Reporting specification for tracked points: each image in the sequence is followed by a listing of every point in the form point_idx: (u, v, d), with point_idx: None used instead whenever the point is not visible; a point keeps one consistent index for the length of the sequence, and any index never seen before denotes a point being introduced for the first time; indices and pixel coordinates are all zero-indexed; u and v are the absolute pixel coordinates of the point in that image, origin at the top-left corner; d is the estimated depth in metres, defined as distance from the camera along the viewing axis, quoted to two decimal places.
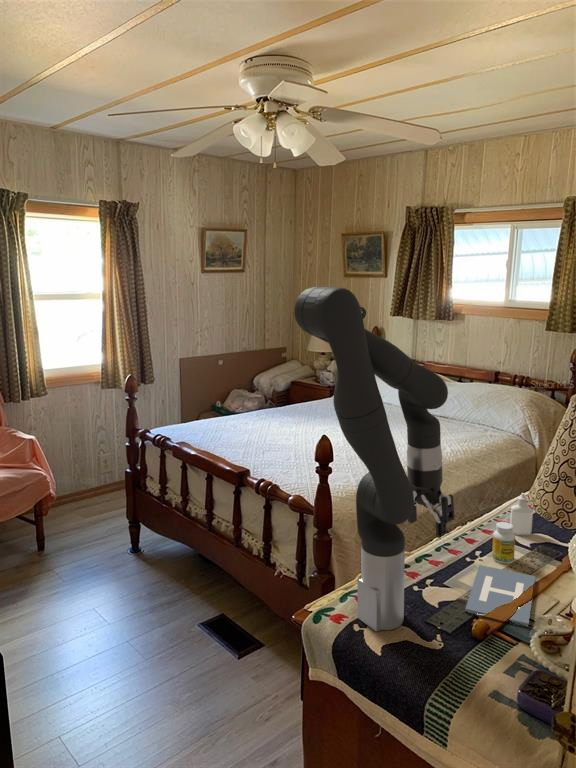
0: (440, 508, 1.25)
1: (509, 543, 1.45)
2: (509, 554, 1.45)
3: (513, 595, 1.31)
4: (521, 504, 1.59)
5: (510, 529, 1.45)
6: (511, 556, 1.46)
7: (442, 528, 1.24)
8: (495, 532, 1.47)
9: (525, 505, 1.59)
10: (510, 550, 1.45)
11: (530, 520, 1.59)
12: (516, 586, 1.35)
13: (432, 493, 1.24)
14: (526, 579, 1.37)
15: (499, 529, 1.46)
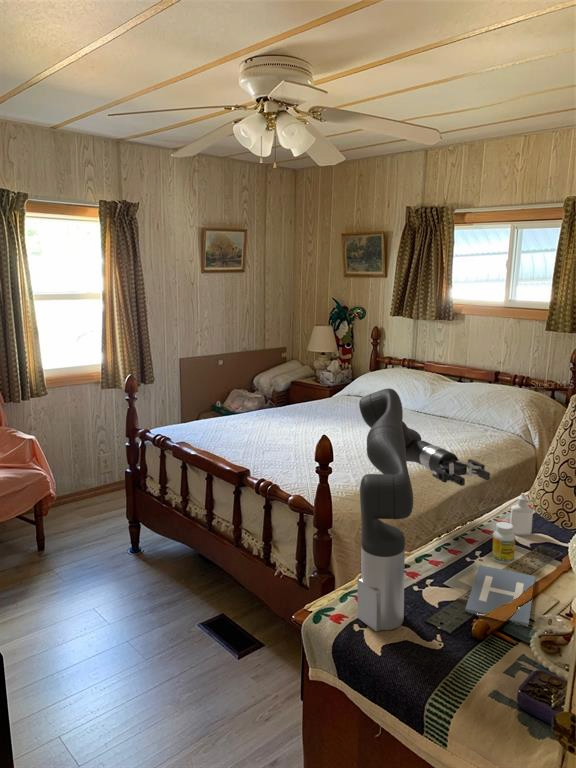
0: None
1: (509, 543, 1.45)
2: (509, 554, 1.45)
3: (513, 595, 1.31)
4: (521, 504, 1.59)
5: (510, 529, 1.45)
6: (511, 556, 1.46)
7: None
8: (495, 532, 1.47)
9: (525, 505, 1.59)
10: (510, 550, 1.45)
11: (530, 520, 1.59)
12: (516, 586, 1.35)
13: None
14: (526, 579, 1.37)
15: (499, 529, 1.46)
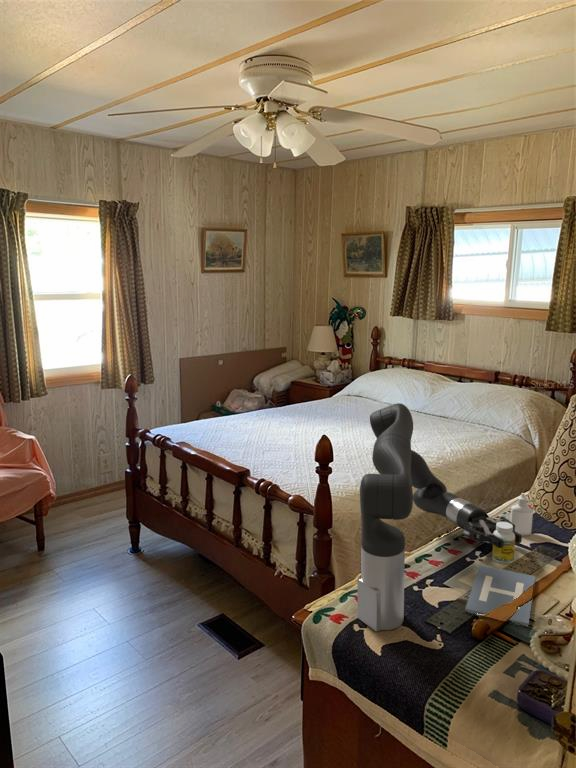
0: None
1: (509, 543, 1.45)
2: (509, 554, 1.45)
3: (513, 595, 1.31)
4: (521, 504, 1.59)
5: (510, 529, 1.45)
6: (511, 556, 1.46)
7: None
8: (495, 532, 1.47)
9: (525, 505, 1.59)
10: (510, 550, 1.45)
11: (530, 520, 1.59)
12: (516, 586, 1.35)
13: (491, 518, 1.56)
14: (526, 579, 1.37)
15: (499, 529, 1.46)
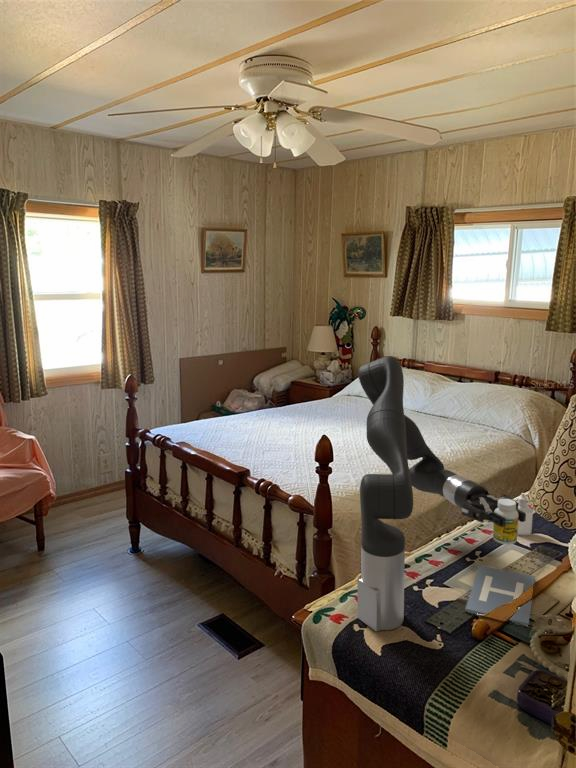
0: None
1: (512, 521, 1.31)
2: (511, 533, 1.32)
3: (513, 595, 1.31)
4: (521, 504, 1.59)
5: (513, 506, 1.31)
6: (514, 536, 1.32)
7: None
8: (496, 510, 1.34)
9: (525, 505, 1.59)
10: (512, 530, 1.32)
11: (530, 520, 1.59)
12: (516, 586, 1.35)
13: None
14: (526, 579, 1.37)
15: (501, 506, 1.32)
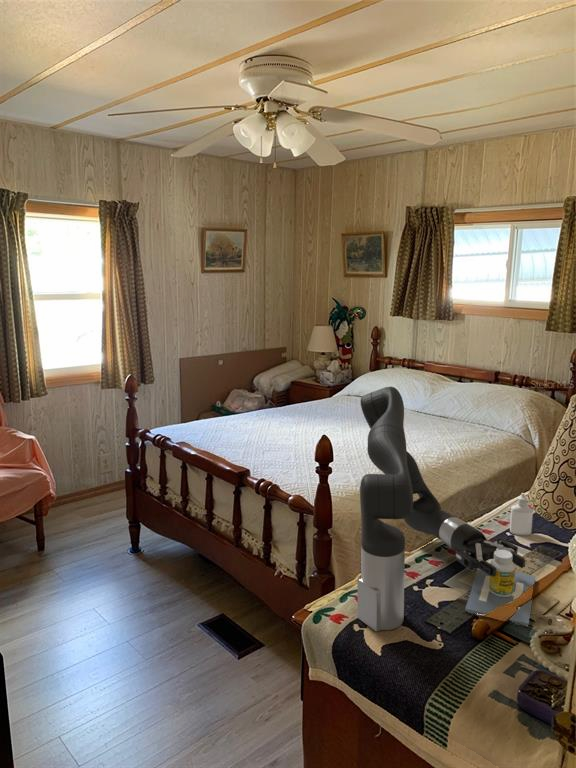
0: None
1: (509, 574, 1.29)
2: (508, 586, 1.30)
3: (513, 595, 1.31)
4: (521, 504, 1.59)
5: (509, 559, 1.29)
6: (511, 588, 1.30)
7: None
8: (493, 561, 1.31)
9: (525, 505, 1.59)
10: (509, 583, 1.29)
11: (530, 520, 1.59)
12: (516, 586, 1.35)
13: (488, 541, 1.40)
14: (526, 579, 1.37)
15: (497, 558, 1.30)
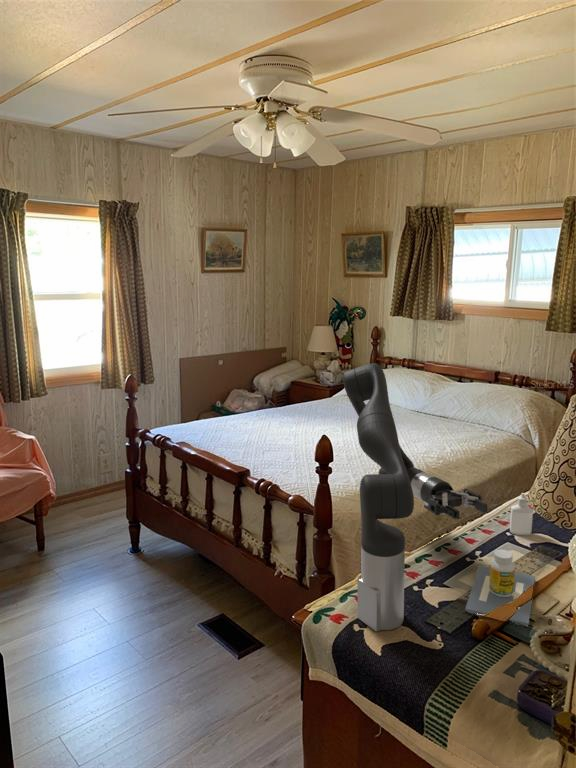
0: None
1: (509, 574, 1.29)
2: (508, 586, 1.30)
3: (513, 595, 1.31)
4: (521, 504, 1.59)
5: (509, 559, 1.29)
6: (511, 588, 1.30)
7: None
8: (493, 561, 1.31)
9: (525, 505, 1.59)
10: (509, 583, 1.29)
11: (530, 520, 1.59)
12: (516, 586, 1.35)
13: None
14: (526, 579, 1.37)
15: (497, 558, 1.30)
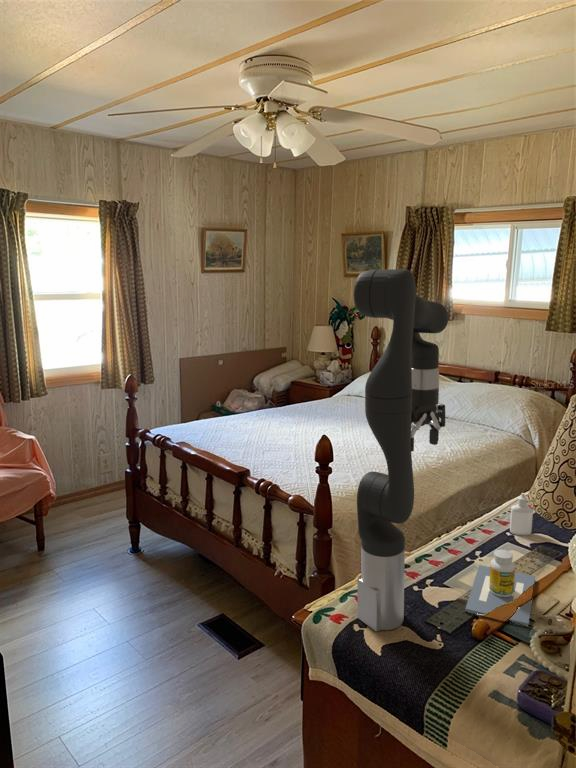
0: None
1: (509, 574, 1.29)
2: (508, 586, 1.30)
3: (513, 595, 1.31)
4: (521, 504, 1.59)
5: (509, 559, 1.29)
6: (511, 588, 1.30)
7: None
8: (493, 561, 1.31)
9: (525, 505, 1.59)
10: (509, 583, 1.29)
11: (530, 520, 1.59)
12: (516, 586, 1.35)
13: (434, 407, 1.43)
14: (526, 579, 1.37)
15: (497, 558, 1.30)
